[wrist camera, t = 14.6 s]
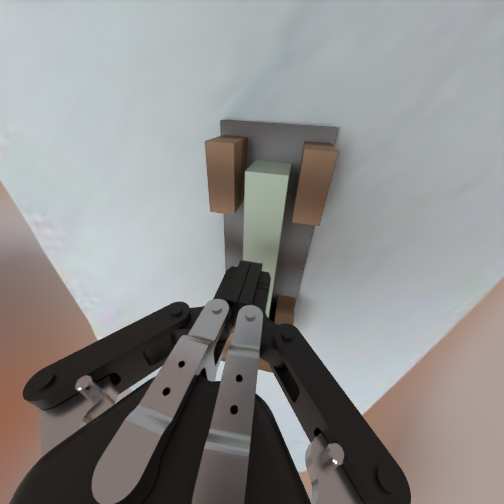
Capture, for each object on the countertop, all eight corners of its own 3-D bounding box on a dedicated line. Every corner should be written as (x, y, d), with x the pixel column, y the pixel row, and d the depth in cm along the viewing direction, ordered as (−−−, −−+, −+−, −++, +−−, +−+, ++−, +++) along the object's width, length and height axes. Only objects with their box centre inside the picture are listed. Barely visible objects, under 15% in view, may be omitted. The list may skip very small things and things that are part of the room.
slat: (255, 159, 17) (245, 171, 14) (291, 163, 17) (288, 175, 14) (247, 313, 29) (240, 338, 26) (269, 317, 29) (264, 343, 25)
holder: (224, 119, 17) (180, 125, 11) (336, 127, 16) (356, 138, 10) (229, 309, 31) (211, 358, 25) (289, 321, 30) (286, 375, 24)
